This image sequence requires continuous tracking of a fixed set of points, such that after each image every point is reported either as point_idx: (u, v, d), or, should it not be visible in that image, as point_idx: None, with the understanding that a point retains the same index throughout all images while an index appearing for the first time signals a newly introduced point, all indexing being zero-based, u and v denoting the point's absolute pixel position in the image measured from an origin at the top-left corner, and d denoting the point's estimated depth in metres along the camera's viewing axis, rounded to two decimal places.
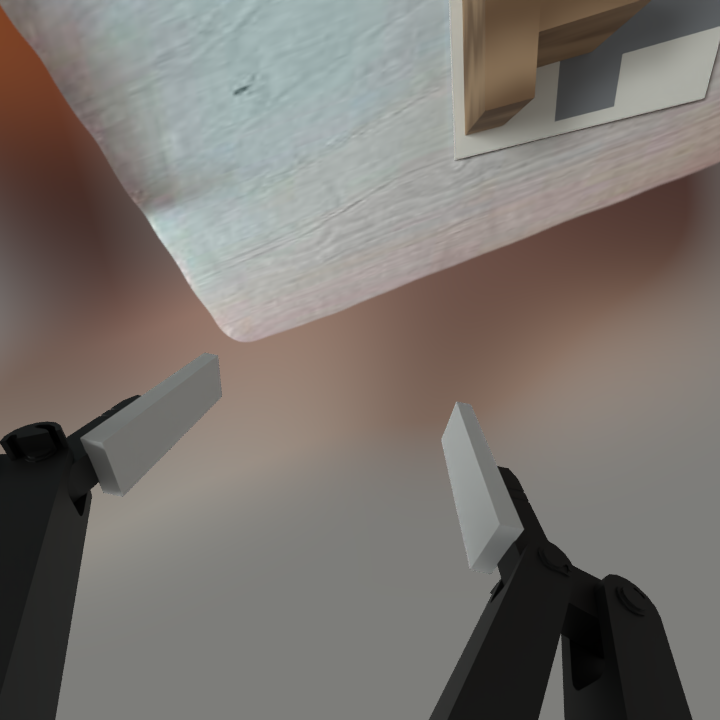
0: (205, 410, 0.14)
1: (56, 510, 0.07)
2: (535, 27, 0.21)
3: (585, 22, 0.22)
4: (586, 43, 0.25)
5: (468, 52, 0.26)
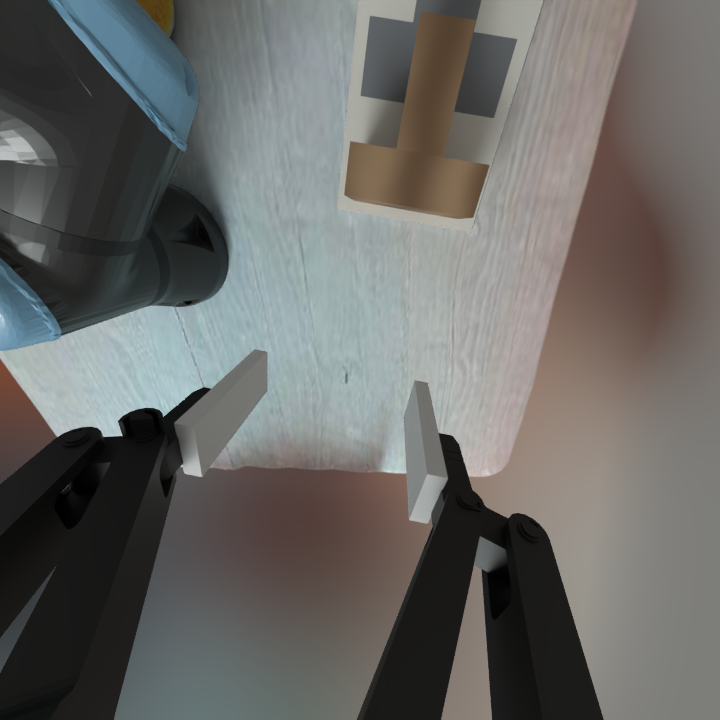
0: (256, 402, 0.15)
1: (148, 492, 0.08)
2: (438, 160, 0.23)
3: None
4: None
5: (406, 209, 0.30)
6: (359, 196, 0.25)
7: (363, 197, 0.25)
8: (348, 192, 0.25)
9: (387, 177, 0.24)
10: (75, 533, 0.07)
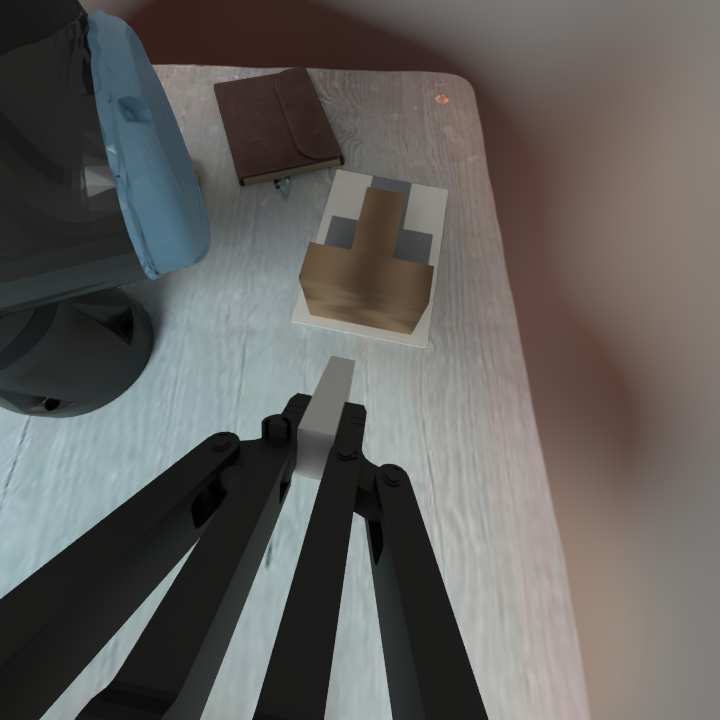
0: None
1: (269, 499, 0.08)
2: (388, 259, 0.26)
3: None
4: None
5: (361, 316, 0.30)
6: (314, 279, 0.25)
7: (318, 281, 0.25)
8: (303, 276, 0.25)
9: (342, 267, 0.25)
10: (212, 520, 0.07)
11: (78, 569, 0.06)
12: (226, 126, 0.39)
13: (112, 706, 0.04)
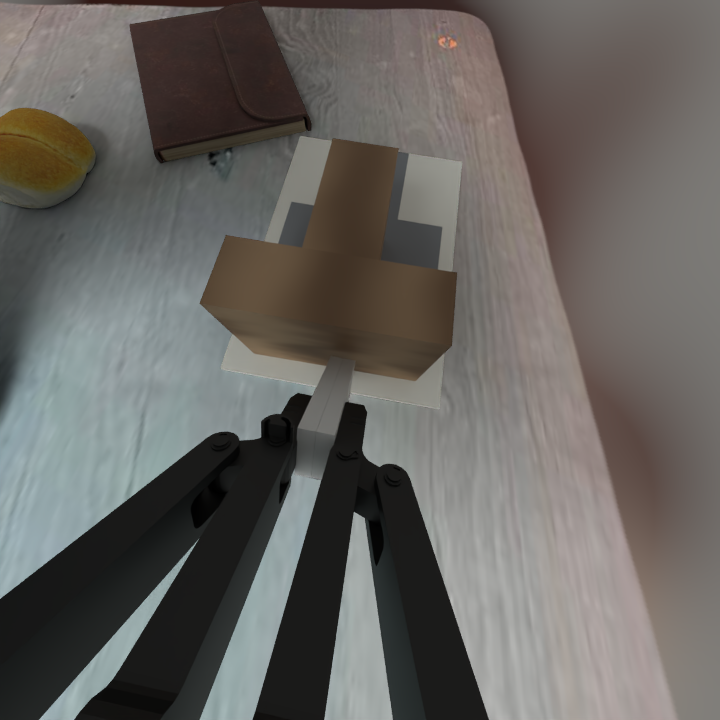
0: None
1: (269, 499, 0.08)
2: (372, 263, 0.14)
3: None
4: (384, 234, 0.20)
5: None
6: (229, 306, 0.13)
7: (237, 308, 0.13)
8: (209, 299, 0.13)
9: (285, 281, 0.13)
10: (211, 520, 0.07)
11: (77, 569, 0.06)
12: (141, 79, 0.27)
13: (112, 706, 0.04)
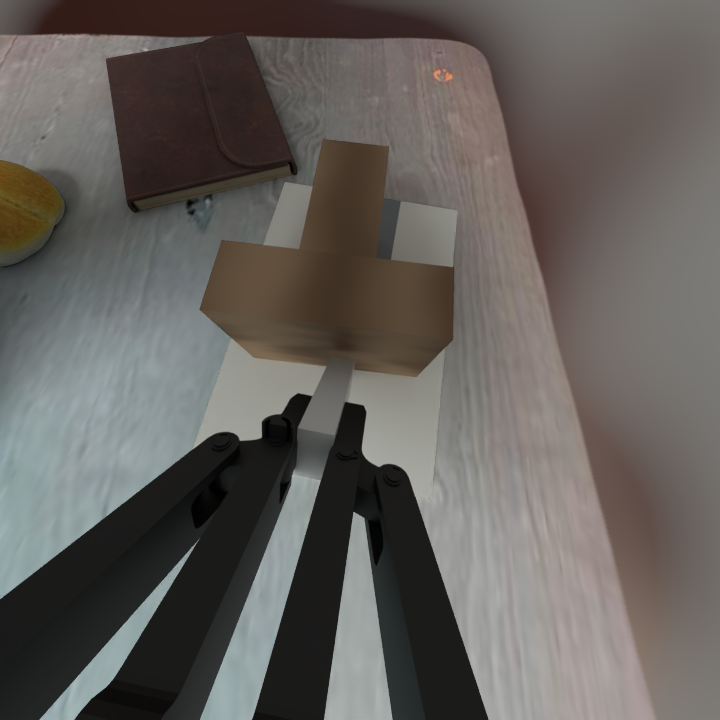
0: None
1: (269, 499, 0.08)
2: (369, 261, 0.14)
3: None
4: None
5: None
6: (229, 311, 0.13)
7: (238, 313, 0.13)
8: (208, 305, 0.13)
9: (284, 283, 0.13)
10: (212, 521, 0.07)
11: (77, 569, 0.06)
12: (116, 120, 0.26)
13: (112, 707, 0.04)
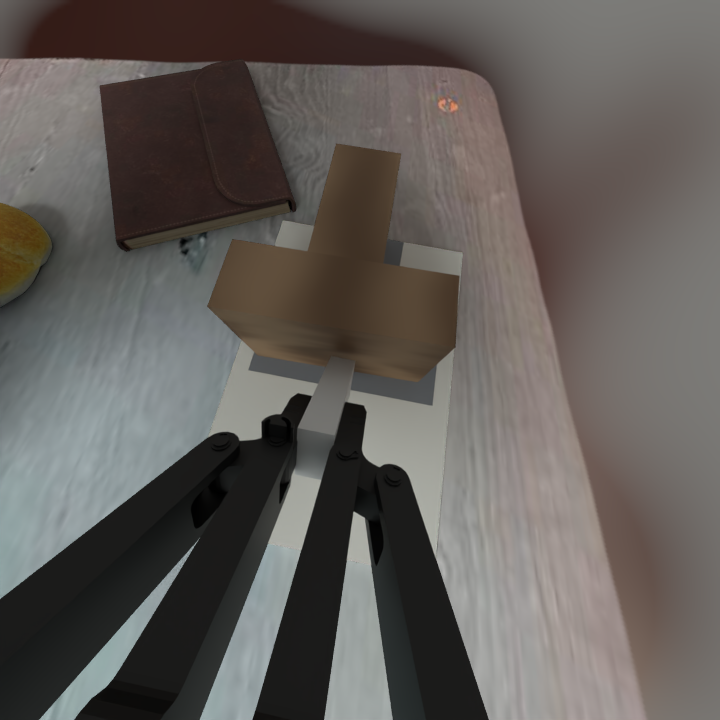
0: None
1: (269, 499, 0.08)
2: (376, 266, 0.14)
3: None
4: None
5: None
6: (236, 309, 0.13)
7: (244, 311, 0.13)
8: (216, 302, 0.13)
9: (291, 284, 0.14)
10: (211, 520, 0.07)
11: (78, 569, 0.06)
12: (108, 152, 0.25)
13: (112, 707, 0.04)
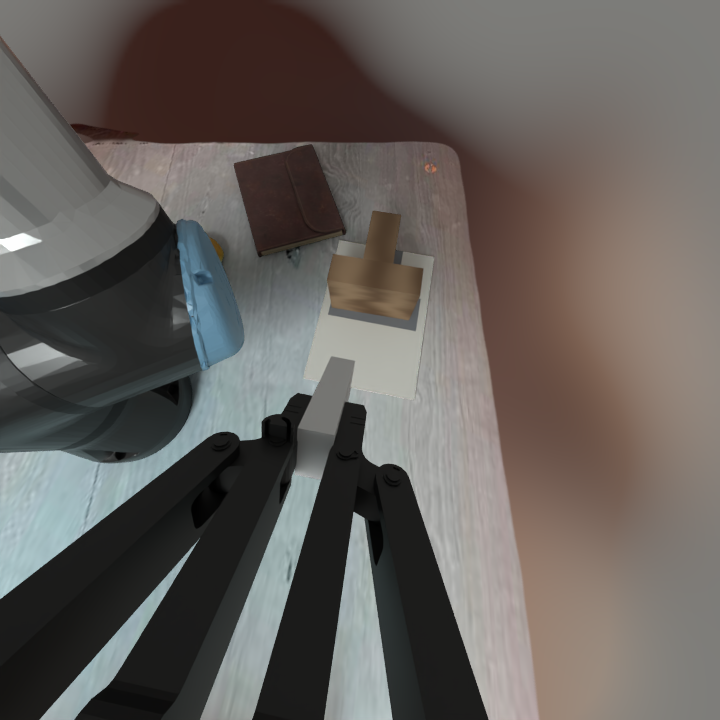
0: None
1: (269, 499, 0.08)
2: (390, 264, 0.35)
3: None
4: None
5: (371, 307, 0.40)
6: (338, 281, 0.35)
7: (340, 282, 0.35)
8: (330, 278, 0.35)
9: (357, 271, 0.35)
10: (212, 520, 0.07)
11: (77, 569, 0.06)
12: (245, 203, 0.46)
13: (113, 706, 0.04)
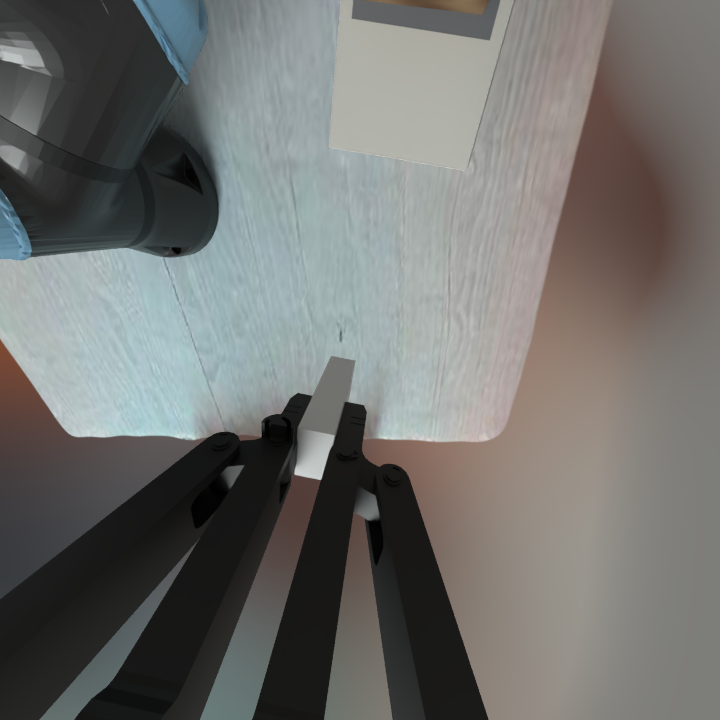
0: None
1: (269, 499, 0.08)
2: None
3: None
4: None
5: None
6: None
7: None
8: None
9: None
10: (212, 520, 0.07)
11: (78, 569, 0.06)
12: None
13: (112, 707, 0.04)
